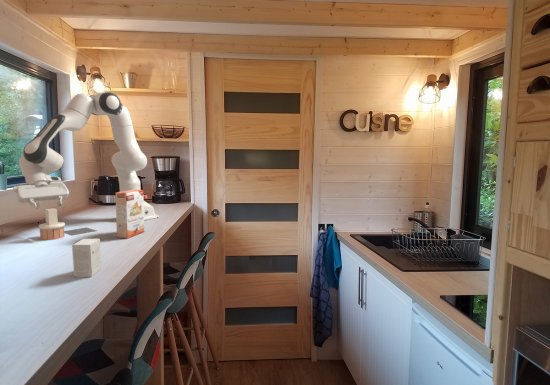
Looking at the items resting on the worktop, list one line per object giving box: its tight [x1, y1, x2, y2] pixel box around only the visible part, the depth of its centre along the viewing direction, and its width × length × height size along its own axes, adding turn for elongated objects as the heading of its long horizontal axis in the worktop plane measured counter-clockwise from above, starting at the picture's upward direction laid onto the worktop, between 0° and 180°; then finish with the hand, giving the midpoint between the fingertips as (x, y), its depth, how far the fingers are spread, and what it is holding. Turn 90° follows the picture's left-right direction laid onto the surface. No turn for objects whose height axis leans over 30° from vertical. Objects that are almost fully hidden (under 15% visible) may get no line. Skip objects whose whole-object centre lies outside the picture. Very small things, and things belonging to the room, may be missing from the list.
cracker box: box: [115, 189, 145, 239], centre depth 167 cm, size 14×6×21 cm, turn 168°
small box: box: [71, 238, 102, 278], centre depth 116 cm, size 8×6×10 cm
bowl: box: [39, 227, 66, 241], centre depth 160 cm, size 9×9×5 cm
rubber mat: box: [64, 227, 98, 236], centre depth 172 cm, size 12×12×1 cm
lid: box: [38, 208, 66, 230], centre depth 159 cm, size 10×10×8 cm
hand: (49, 206), depth 160 cm, fingers open, 8 cm apart
